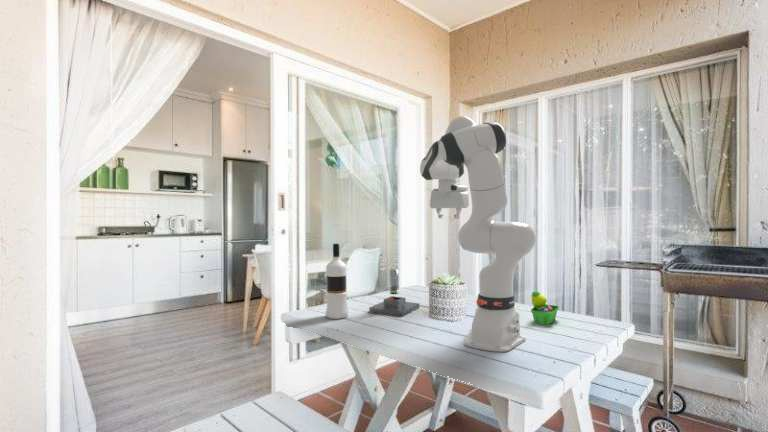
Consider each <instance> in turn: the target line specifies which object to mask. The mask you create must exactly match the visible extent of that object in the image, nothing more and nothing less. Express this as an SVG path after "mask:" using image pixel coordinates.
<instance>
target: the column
mask: <svg viewBox="0 0 768 432" xmlns="http://www.w3.org/2000/svg"><path fill="white" fill-rule="evenodd" d="M389 280H390V281H389V282H390V283H389V286H390V289H389V293H390V295H398V294H400V287H399V281H400V279H399V268H398V269H397V268H390V270H389Z"/></svg>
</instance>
